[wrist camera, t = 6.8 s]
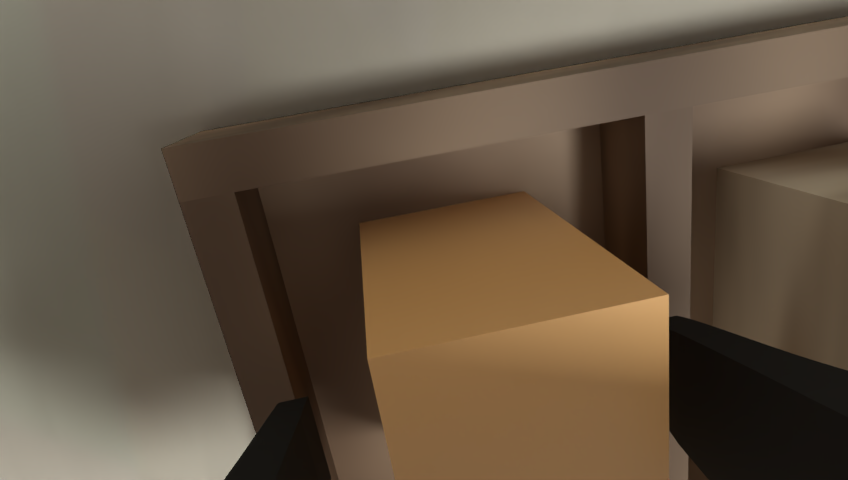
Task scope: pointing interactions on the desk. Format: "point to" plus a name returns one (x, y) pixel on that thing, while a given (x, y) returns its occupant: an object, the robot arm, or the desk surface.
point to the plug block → (513, 347)
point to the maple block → (785, 252)
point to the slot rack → (485, 196)
